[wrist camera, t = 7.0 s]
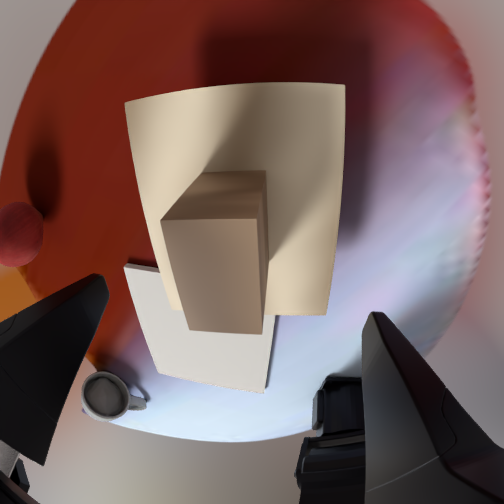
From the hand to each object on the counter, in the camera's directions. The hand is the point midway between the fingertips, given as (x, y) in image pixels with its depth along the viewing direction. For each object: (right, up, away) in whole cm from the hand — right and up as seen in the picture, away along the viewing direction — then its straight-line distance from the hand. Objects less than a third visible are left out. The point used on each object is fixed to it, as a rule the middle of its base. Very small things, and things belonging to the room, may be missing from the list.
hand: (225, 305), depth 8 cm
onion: (-20, +5, +13) cm, 25 cm away
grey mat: (-4, -7, +17) cm, 19 cm away
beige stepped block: (0, +4, +6) cm, 7 cm away
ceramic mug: (-21, -20, +29) cm, 41 cm away
